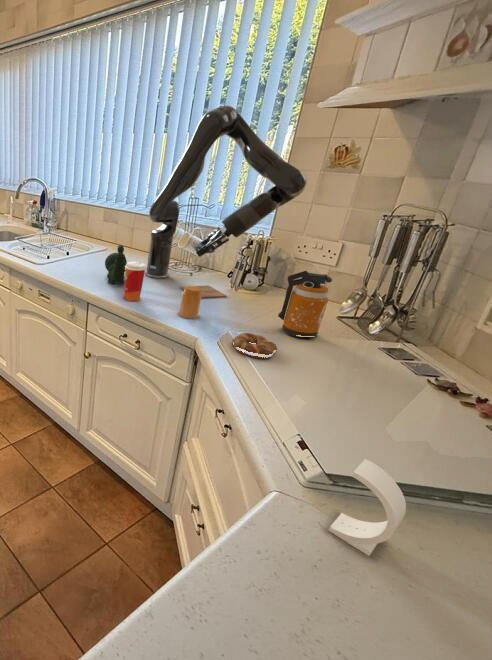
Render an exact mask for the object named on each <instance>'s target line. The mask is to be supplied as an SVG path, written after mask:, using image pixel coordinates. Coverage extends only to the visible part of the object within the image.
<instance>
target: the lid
mask: <svg viewBox="0 0 492 660" xmlns="http://www.w3.org/2000/svg"><path fill="white" fill-rule="evenodd" d="M203 246H206V243H200V242H199V243H196V244H195V245H194V247H195V249H194V251H195V252H196V251H198V250H199V249H200V248H202V247H203ZM215 251H216V249H215V250H213V251H212V250H211V251H210V250H209V251H208V252H207V253H206V254H213V253H215Z"/></svg>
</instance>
